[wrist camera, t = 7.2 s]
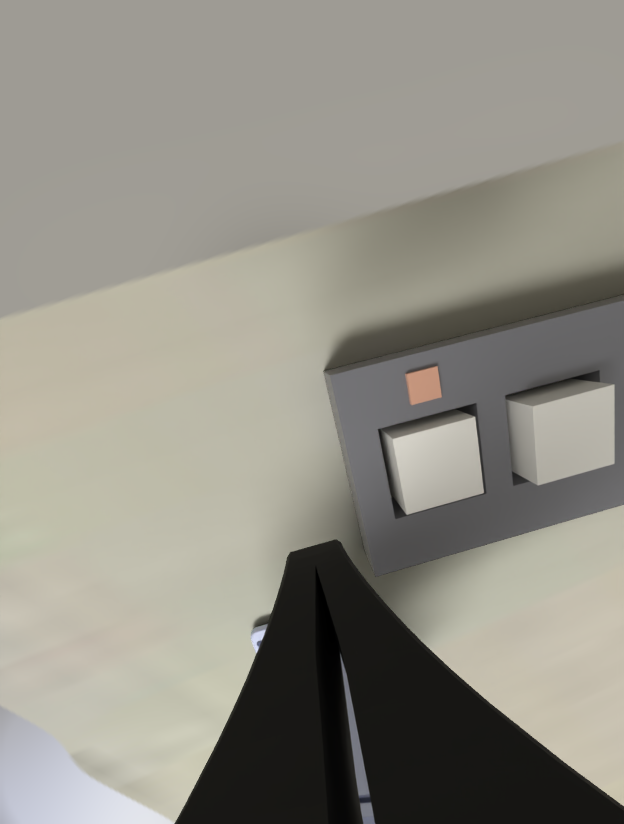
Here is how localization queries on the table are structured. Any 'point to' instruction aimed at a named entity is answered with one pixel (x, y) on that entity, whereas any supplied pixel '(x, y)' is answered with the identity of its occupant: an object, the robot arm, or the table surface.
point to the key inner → (432, 460)
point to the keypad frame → (485, 400)
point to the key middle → (561, 429)
